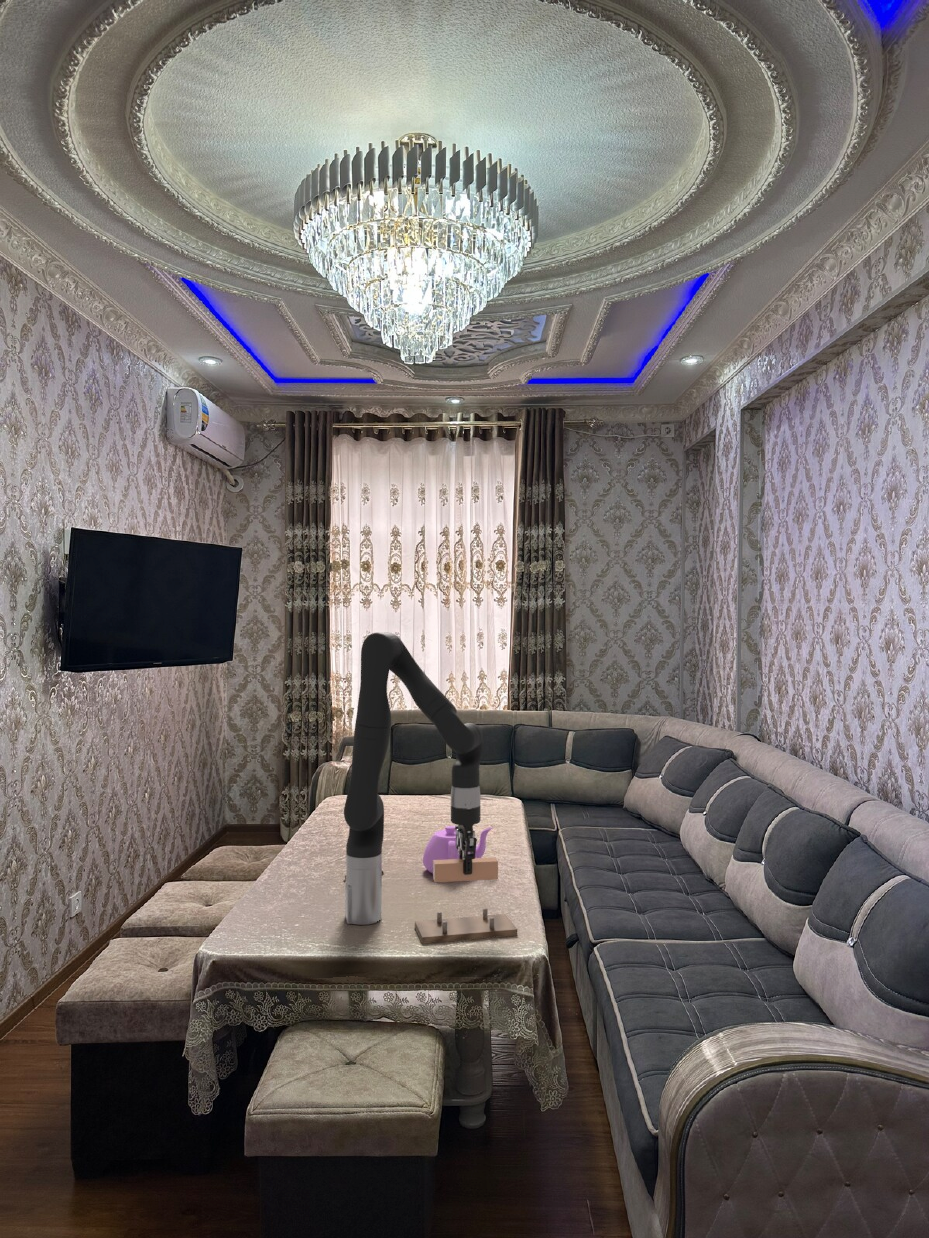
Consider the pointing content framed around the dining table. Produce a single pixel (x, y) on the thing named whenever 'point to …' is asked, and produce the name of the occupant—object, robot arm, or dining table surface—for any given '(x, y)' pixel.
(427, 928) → the rack
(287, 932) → the dining table surface
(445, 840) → the teapot
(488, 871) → the clay strip
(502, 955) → the dining table surface
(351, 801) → the robot arm
